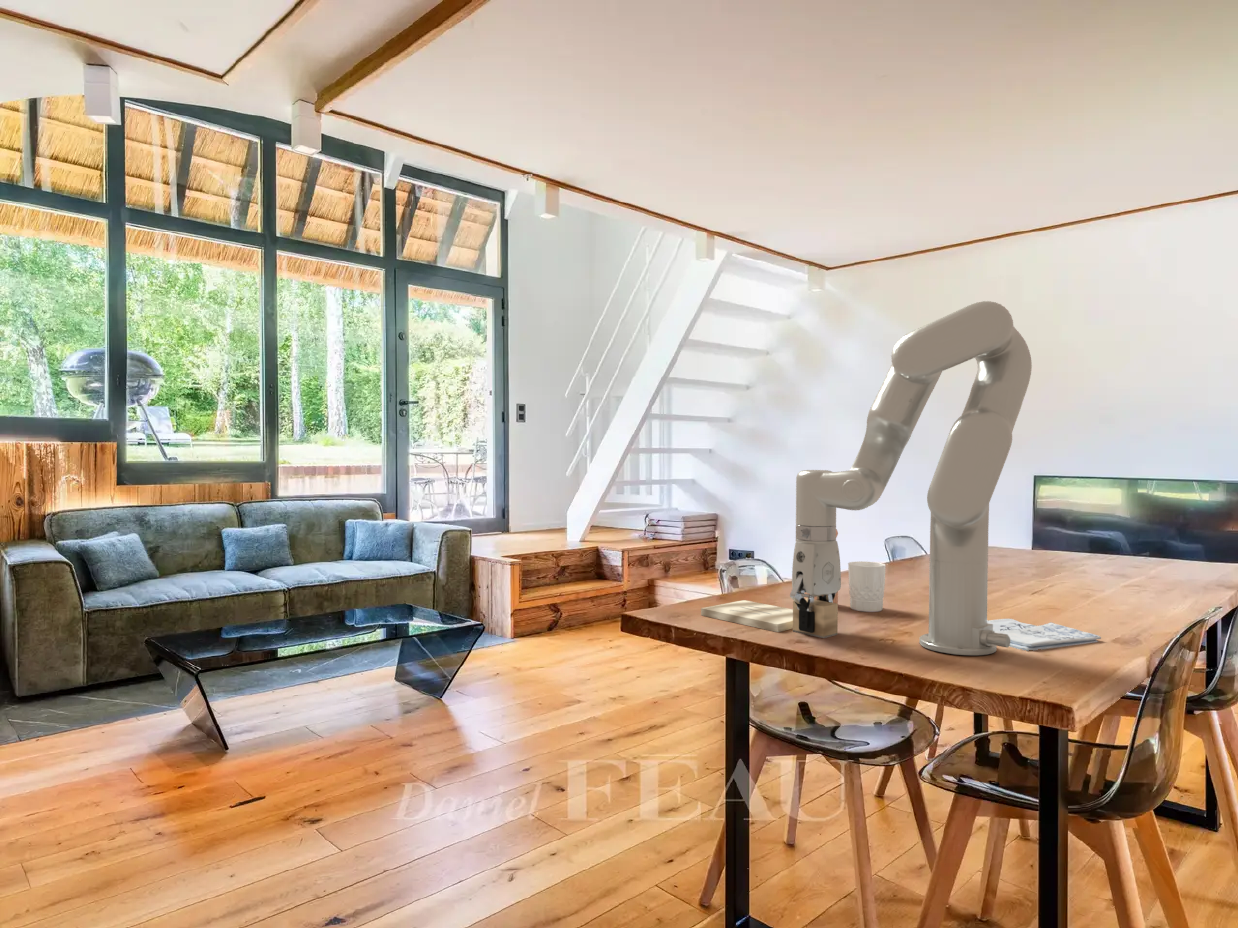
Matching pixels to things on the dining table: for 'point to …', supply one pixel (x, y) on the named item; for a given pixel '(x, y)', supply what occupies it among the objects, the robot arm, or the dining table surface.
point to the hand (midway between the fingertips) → (814, 628)
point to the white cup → (866, 585)
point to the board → (752, 615)
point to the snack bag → (1040, 635)
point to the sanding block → (820, 619)
